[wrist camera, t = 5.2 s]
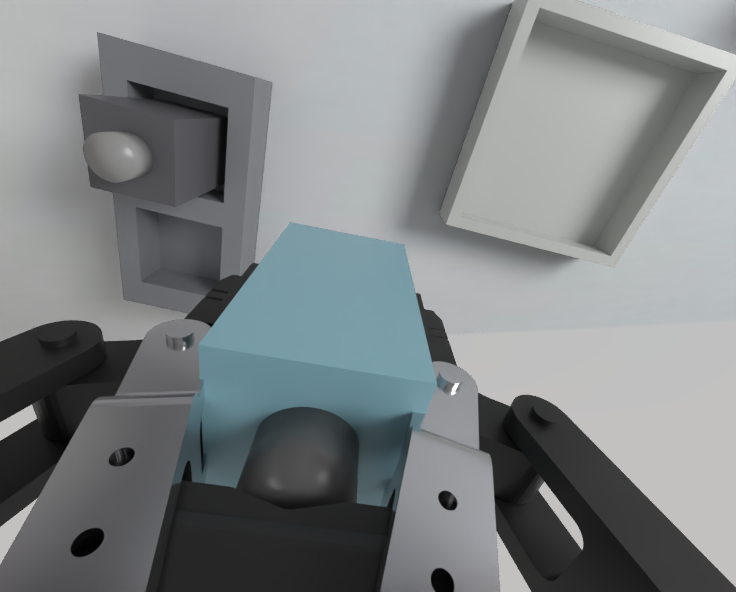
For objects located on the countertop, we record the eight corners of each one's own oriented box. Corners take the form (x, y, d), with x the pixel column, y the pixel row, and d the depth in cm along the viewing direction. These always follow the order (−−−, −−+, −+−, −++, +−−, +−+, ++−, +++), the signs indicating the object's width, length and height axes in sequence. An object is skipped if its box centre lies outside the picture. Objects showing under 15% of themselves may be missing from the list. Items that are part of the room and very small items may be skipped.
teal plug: (290, 222, 12) (142, 418, 4) (404, 244, 12) (455, 463, 5) (281, 319, 14) (167, 575, 6) (379, 336, 14) (388, 598, 6)
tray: (513, 1, 19) (533, -15, 17) (703, 65, 21) (748, 59, 18) (438, 213, 25) (446, 224, 23) (591, 253, 26) (614, 267, 24)
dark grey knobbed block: (165, 99, 21) (49, 91, 13) (231, 117, 21) (155, 119, 14) (167, 167, 23) (66, 193, 15) (227, 182, 23) (158, 215, 16)
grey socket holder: (138, 44, 20) (97, 32, 17) (272, 82, 21) (255, 77, 18) (151, 279, 28) (123, 299, 25) (250, 300, 29) (235, 323, 26)
